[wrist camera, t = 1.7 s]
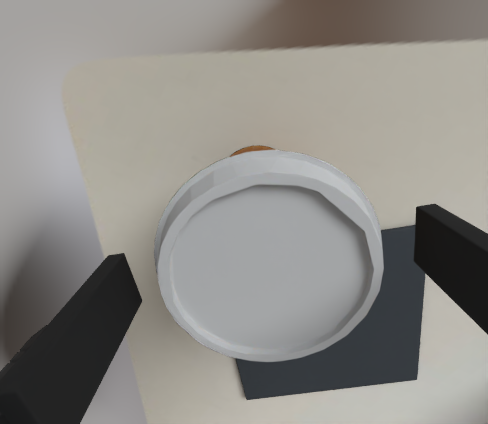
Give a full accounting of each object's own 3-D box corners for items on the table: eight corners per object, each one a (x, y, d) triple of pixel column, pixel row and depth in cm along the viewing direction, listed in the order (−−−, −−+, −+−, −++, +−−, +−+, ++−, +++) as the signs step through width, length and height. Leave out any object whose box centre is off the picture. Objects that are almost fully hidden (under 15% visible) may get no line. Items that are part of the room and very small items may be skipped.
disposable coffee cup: (332, 219, 23) (414, 336, 12) (223, 255, 24) (205, 390, 13) (299, 101, 20) (370, 111, 8) (174, 150, 21) (94, 214, 10)
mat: (209, 256, 24) (209, 259, 24) (425, 223, 23) (429, 225, 23) (246, 395, 31) (246, 400, 31) (414, 375, 30) (417, 380, 29)
